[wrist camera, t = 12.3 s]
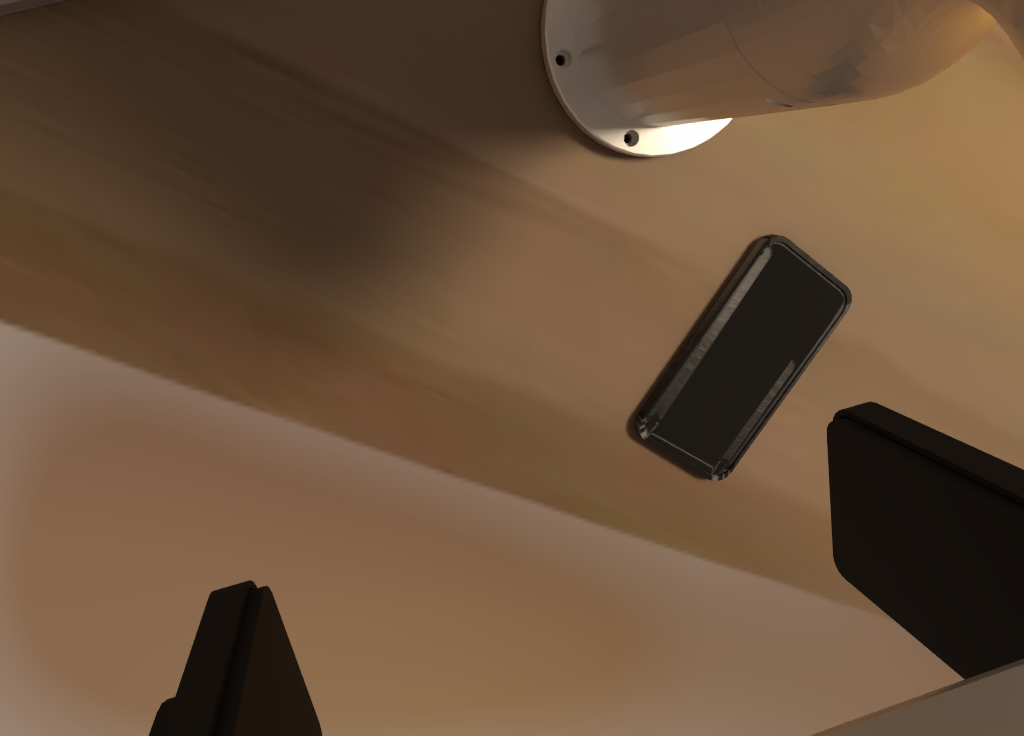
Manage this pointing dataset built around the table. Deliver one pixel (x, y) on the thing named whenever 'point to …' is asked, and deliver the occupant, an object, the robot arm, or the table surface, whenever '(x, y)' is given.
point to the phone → (744, 358)
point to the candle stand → (22, 5)
